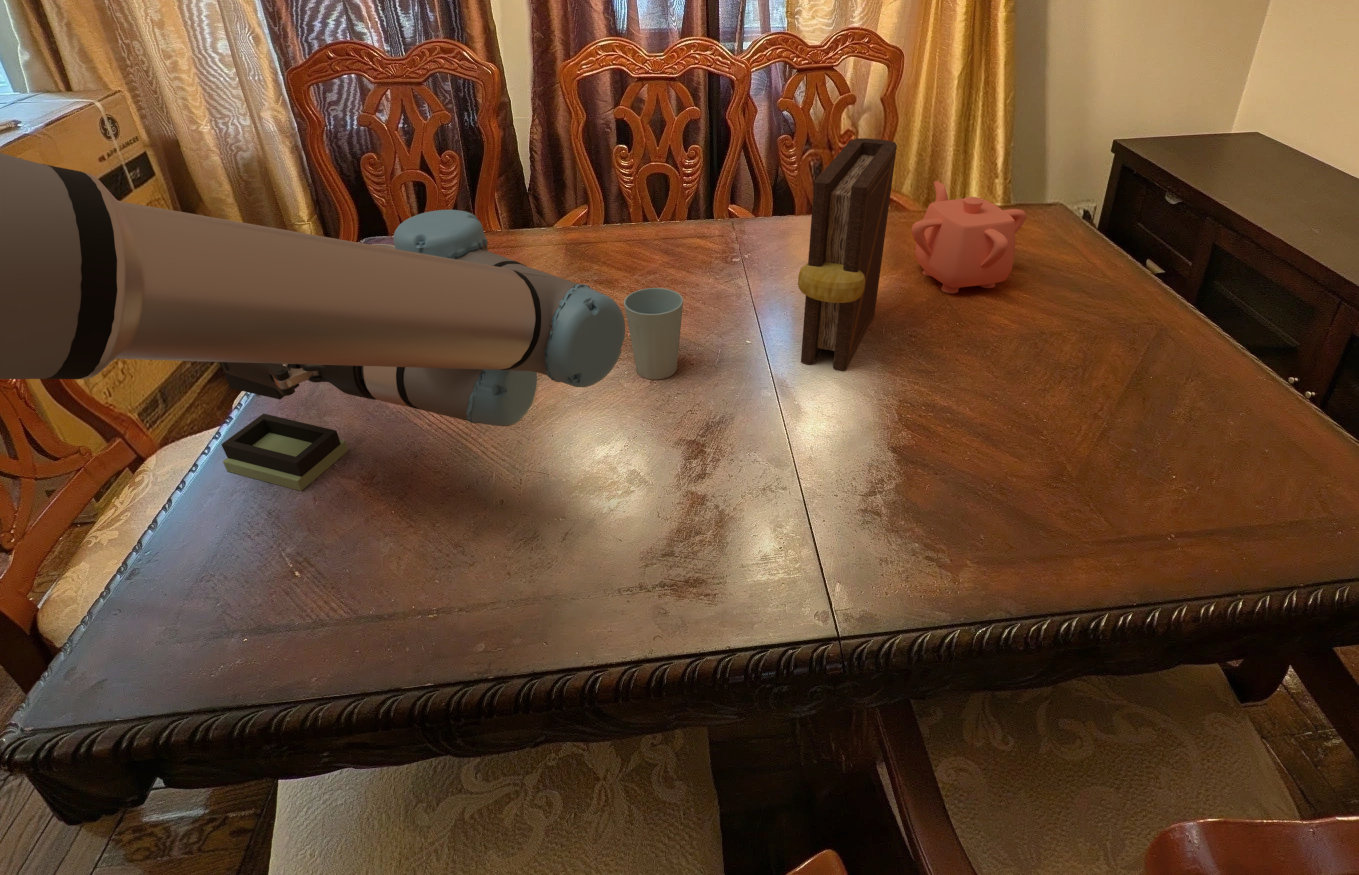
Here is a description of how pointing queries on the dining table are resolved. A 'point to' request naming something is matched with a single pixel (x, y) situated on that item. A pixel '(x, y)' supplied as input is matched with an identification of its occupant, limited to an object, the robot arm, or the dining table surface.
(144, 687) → the dining table surface
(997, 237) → the teapot
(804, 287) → the book
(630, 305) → the cup
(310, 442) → the black and green tray
